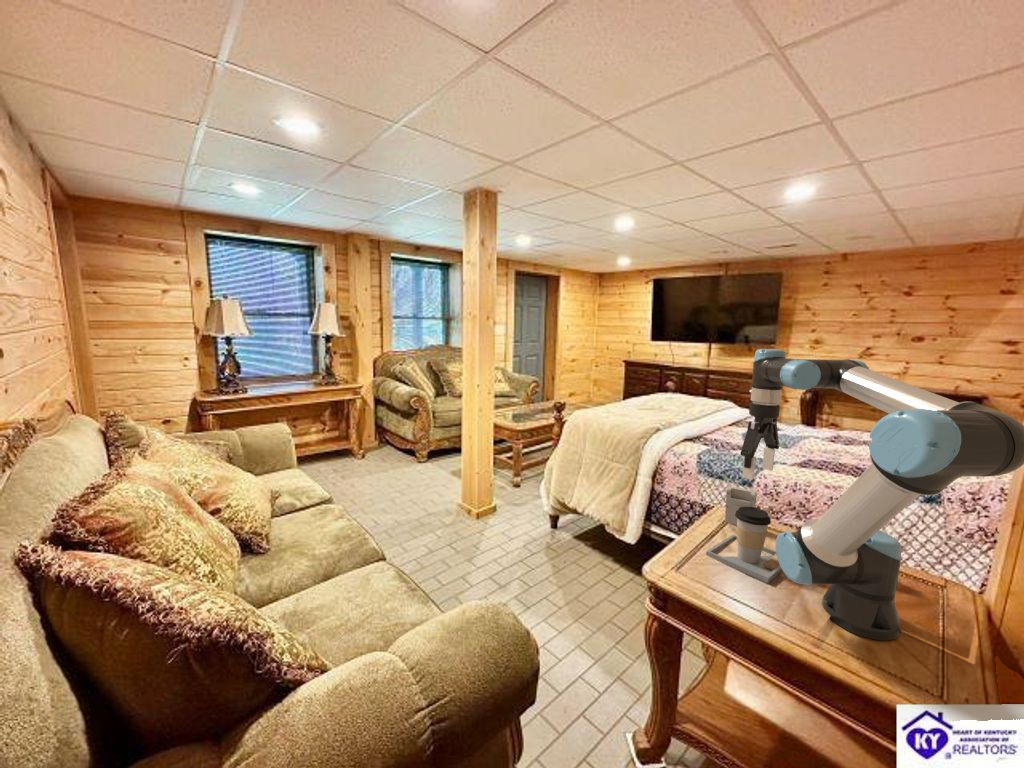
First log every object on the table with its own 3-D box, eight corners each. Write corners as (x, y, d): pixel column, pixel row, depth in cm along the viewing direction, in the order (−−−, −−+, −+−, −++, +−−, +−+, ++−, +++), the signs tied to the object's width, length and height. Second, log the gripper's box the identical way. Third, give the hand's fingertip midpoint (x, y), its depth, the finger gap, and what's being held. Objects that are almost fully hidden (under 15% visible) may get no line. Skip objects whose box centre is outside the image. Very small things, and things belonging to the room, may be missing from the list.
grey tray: (792, 563, 130) (792, 557, 130) (767, 584, 119) (768, 578, 119) (732, 539, 143) (733, 534, 143) (705, 556, 133) (706, 551, 132)
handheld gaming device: (752, 534, 147) (754, 528, 150) (755, 495, 144) (756, 490, 147) (724, 527, 153) (726, 522, 156) (726, 489, 149) (728, 484, 152)
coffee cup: (757, 551, 135) (762, 506, 133) (772, 568, 126) (778, 519, 124) (726, 549, 136) (730, 504, 134) (738, 566, 127) (743, 517, 125)
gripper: (768, 397, 135) (762, 462, 138) (731, 405, 119) (724, 478, 122) (796, 400, 129) (788, 469, 132) (760, 409, 114) (752, 486, 117)
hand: (757, 473), depth 127 cm, fingers open, 13 cm apart
